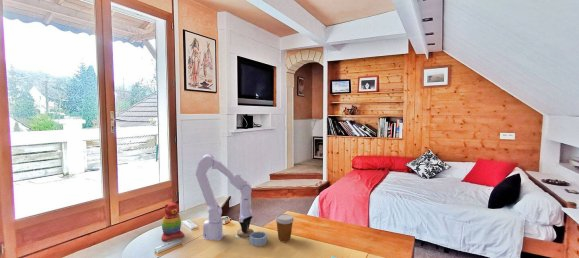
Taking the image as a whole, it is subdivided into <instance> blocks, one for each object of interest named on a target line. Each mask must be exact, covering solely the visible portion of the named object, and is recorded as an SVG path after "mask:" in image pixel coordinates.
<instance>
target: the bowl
mask: <svg viewBox="0 0 579 258" xmlns="http://www.w3.org/2000/svg"><path fill="white" fill-rule="evenodd" d="M267 243H268V234H267V232H264V231H255V232H253V233H251V234H250V237H249V244H250V245H251V246H254V247H262V246H265V245H266V244H267Z"/></svg>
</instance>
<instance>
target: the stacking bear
mask: <svg viewBox="0 0 579 258" xmlns="http://www.w3.org/2000/svg"><path fill="white" fill-rule="evenodd" d="M164 213H165V215H164V216H163V217H162V222H161V228H162V235H161V241H162V242H164V243H165V242H171V240H174V239H175V240H176V239H181V238H184V237H185V233H184V232H183V231H182V230H181V227H182V219H181V216H180V214H179V206H178V202H177V201H176V202H170V203H168V204H167V203H166V204H165V205H164Z"/></svg>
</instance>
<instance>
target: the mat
mask: <svg viewBox="0 0 579 258" xmlns="http://www.w3.org/2000/svg"><path fill="white" fill-rule="evenodd" d="M253 231H254V230H253ZM254 232H256V230H255V231H254ZM249 237H250V236H248V237H241V236H238V235H237V234H235V236H234V238H240V239H249Z"/></svg>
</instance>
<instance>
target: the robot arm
mask: <svg viewBox="0 0 579 258" xmlns="http://www.w3.org/2000/svg"><path fill="white" fill-rule="evenodd" d="M196 167H197V169H196V172H195V176H196V179H197V182H198V185H199V187H200V190H201V192H202V193H201V194H202V195H203V197H204V200H205V203H206V207H207V212H208V219H206V220H205V221H204V222H203V225H202V233H203V234H202V236H203V237H202V240H203V239H204V240H211V241H220V240H221V239H223V238H224V236H226V233H224V232H223V227H224V226H223V218H222V214H223V209H222V207H221V206H220V205H219V203H218V201H217V200H216V197H215V195H214V192H213V190H212V187H211V186H212V185H211V184H210V181H209V178H208V176H207V173H208V171H209V170H210V168H211V170H218V172H220V173H222V175H224V176H225V177H226V178H228V181H229V183H230V184H231V185H232V186H233V187H235V188H236V189H237V190H239V192H240V202H239V203H240V205H239V206H240V207H239V208H240V209H239V212H240V213H239V218H238V219H237V220H238V223H239V226H240V229H242V232H246V231H247V225H248V229H250V225H251V221H252V218H253V215H254V213H253V210H252V191H253V189H252V185H251V184H250V183H249V182H248V181H247V180H245V179H244V178H242V177H241V174H240V173H239V174H238V173H233V172H232V171H231V170H230V169H229V168H228V167H227V166H225V164H223V162H222V161H220V160H219V159H218V158H217V157H215V156H214V155H212V154H211V153H207V154H203V156H202V157H201V159H200V160H199V162H198V164H197V166H196Z"/></svg>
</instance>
